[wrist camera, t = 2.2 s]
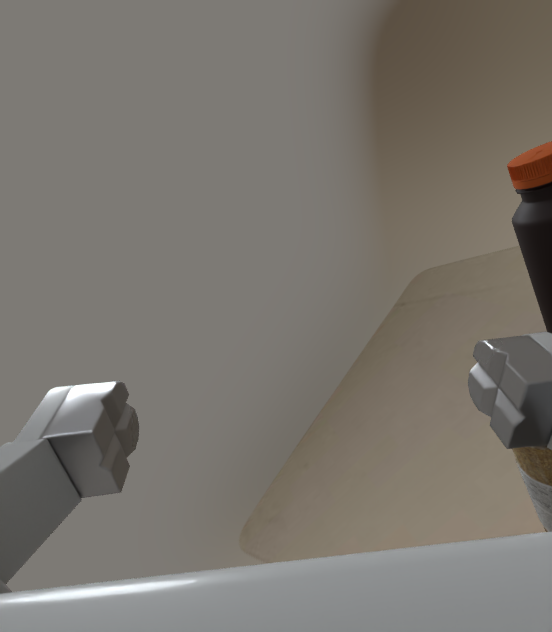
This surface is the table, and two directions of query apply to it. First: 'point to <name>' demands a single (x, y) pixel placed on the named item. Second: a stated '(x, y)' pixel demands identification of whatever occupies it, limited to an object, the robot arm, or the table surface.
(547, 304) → the vinegar
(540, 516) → the sprinkles bottle
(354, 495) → the table surface
